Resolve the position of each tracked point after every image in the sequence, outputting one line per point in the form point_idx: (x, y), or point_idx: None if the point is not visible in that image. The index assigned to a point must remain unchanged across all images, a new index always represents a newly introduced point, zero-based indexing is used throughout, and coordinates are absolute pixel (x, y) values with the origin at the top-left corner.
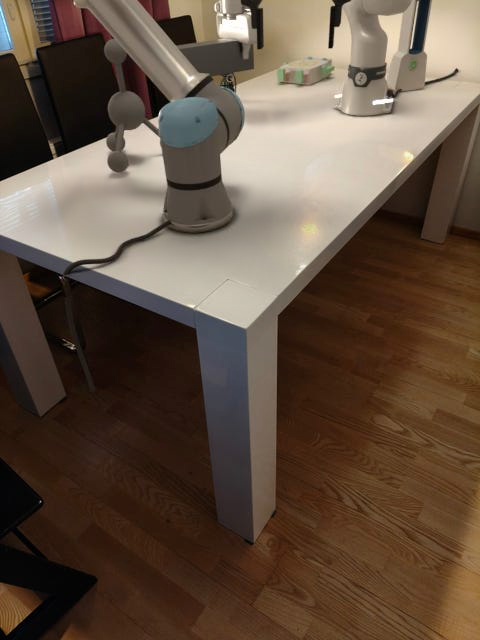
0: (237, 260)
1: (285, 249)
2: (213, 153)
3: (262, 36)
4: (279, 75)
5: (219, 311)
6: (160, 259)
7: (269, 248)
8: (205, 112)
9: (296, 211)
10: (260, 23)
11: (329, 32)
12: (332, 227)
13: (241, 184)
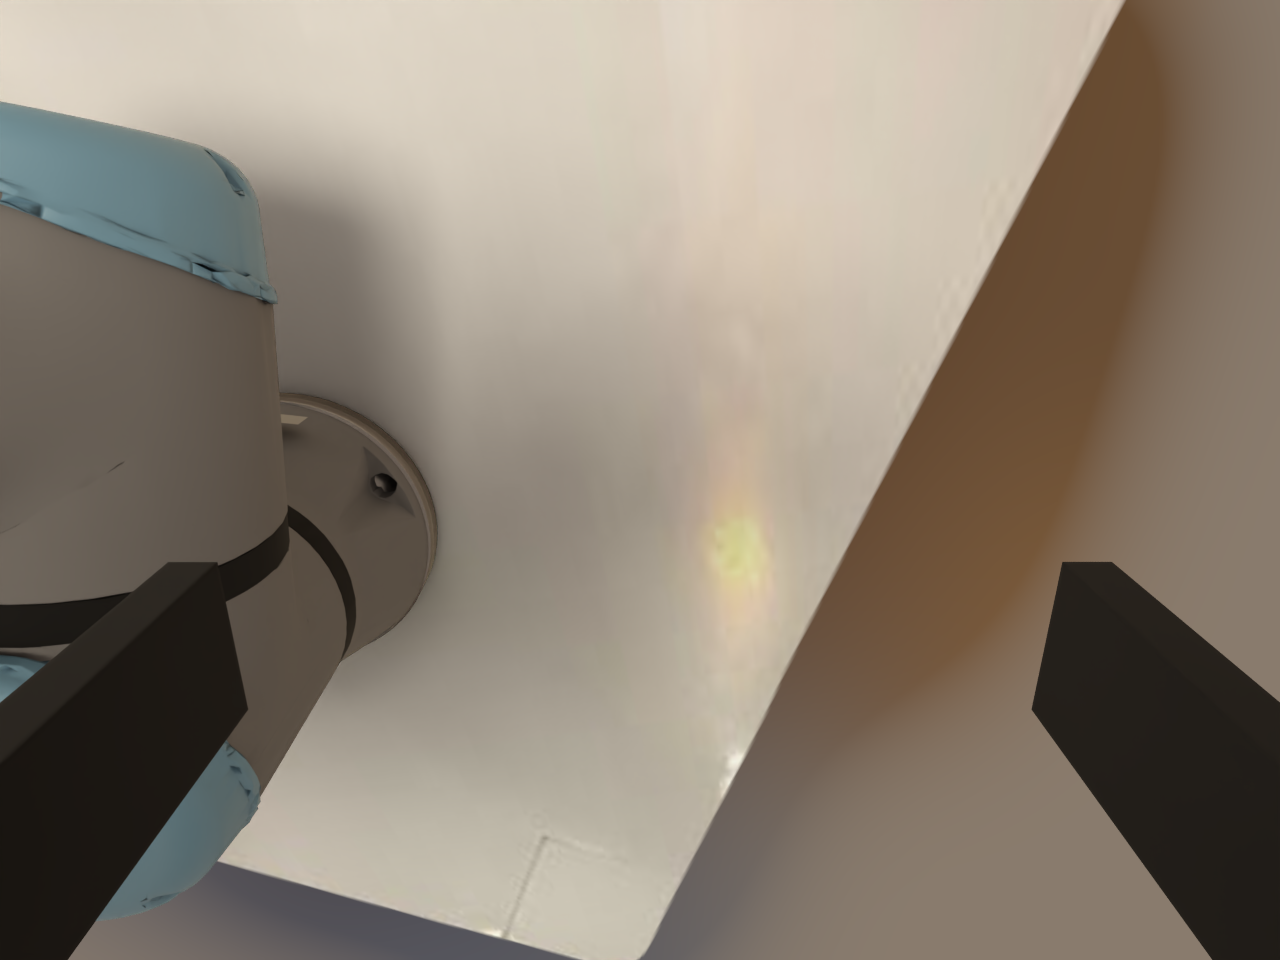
0: (542, 757)
1: (673, 686)
2: (299, 722)
3: (161, 694)
4: None
5: (564, 941)
6: (315, 781)
7: (622, 687)
8: (172, 868)
9: (673, 424)
10: (76, 940)
11: (1125, 829)
12: (819, 533)
13: (354, 160)
